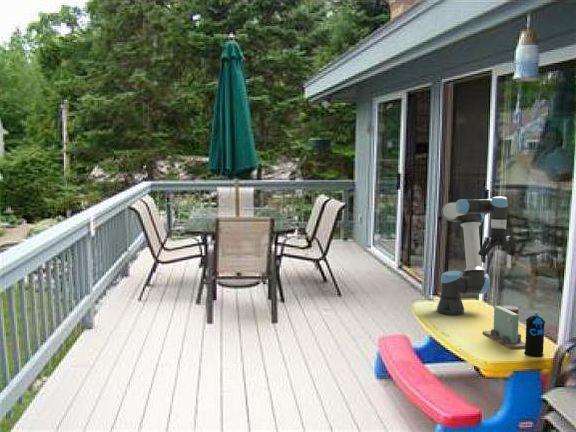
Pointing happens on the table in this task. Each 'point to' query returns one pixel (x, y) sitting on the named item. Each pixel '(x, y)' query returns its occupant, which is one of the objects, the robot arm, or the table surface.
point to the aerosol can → (534, 336)
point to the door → (506, 323)
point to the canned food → (511, 308)
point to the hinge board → (505, 340)
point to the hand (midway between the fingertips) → (496, 268)
